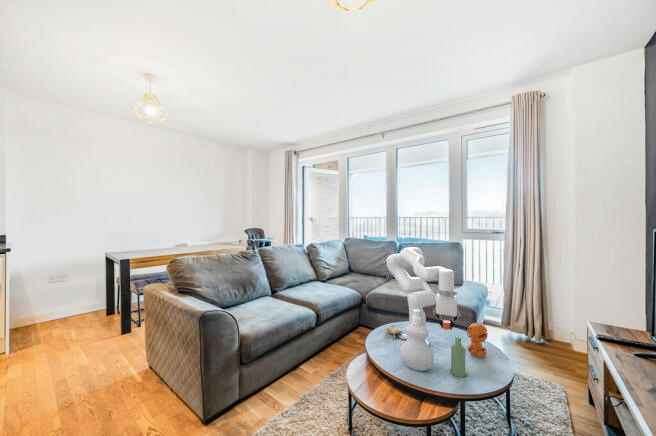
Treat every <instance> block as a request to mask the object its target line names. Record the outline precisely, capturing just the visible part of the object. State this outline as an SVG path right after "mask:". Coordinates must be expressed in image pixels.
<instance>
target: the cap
mask: <svg viewBox="0 0 656 436" xmlns="http://www.w3.org/2000/svg"><path fill="white" fill-rule="evenodd" d="M442 329H443V330H447V331H449V330H452V329H451V322H450V320H447V319H443V328H442Z"/></svg>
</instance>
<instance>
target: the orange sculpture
mask: <svg viewBox="0 0 656 436" xmlns="http://www.w3.org/2000/svg"><path fill="white" fill-rule="evenodd" d="M466 336H467V338H468V339H469V338H470V344H469V345H467V351H468V354H471V355H472V356H473V357H476V358H483V357H484V356H487V349H486V348H485V346H483V344H482V343H485V342H486V340H487V339H488V336H489V332H488V328H487V327H486V326H485V325H483V324H482V322H478V321H476V322H473V323H471V324H470V325H469V326H468V327H467V329H466Z"/></svg>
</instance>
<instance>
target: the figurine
mask: <svg viewBox="0 0 656 436" xmlns="http://www.w3.org/2000/svg"><path fill="white" fill-rule="evenodd" d="M384 329H385V332H386V333H387V334H388V335H393V338H394V339H395V338H397V339H401V340H404V341H406V340H407V339H403V337H402V334H404V331H403V330H400V329H399V328H396V326H395V325H394V324H388V325H386V326H385V327H384Z"/></svg>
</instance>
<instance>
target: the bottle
mask: <svg viewBox="0 0 656 436" xmlns="http://www.w3.org/2000/svg"><path fill="white" fill-rule="evenodd" d="M454 339H455V341H454V343H451V345H450V373H451V374H452V375H453V376H455V377H458V378H465V377H466V370H467V369H466V360H467V359H466V355H467V354H466V351H467V350H466V347H465V345H464V344H462V336H460V335H456V336H455V337H454Z"/></svg>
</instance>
